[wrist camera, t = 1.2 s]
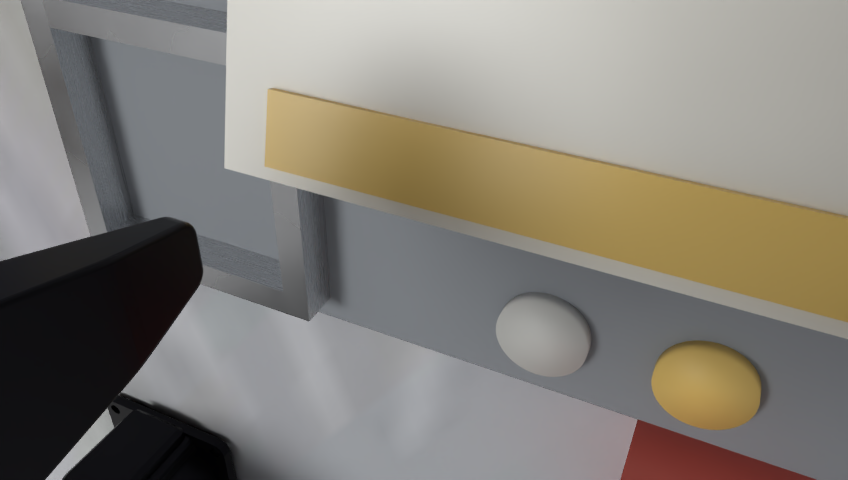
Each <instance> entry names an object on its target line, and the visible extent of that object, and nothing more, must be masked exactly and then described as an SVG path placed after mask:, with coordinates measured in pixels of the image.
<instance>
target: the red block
mask: <svg viewBox="0 0 848 480" xmlns="http://www.w3.org/2000/svg"><path fill="white" fill-rule="evenodd" d="M621 480H816V479H813V478H810V477H807V476H804V475H801V474H799V473H796V472H793V471H790V470H787V469H784V468H781V467H778V466H775V465H772V464H769V463H766V462H763V461H760V460H757V459H754V458H751V457H748V456H745V455H742V454H739V453H736V452H733V451H730V450H727V449H724V448H721V447H718V446H715V445H713V444H710V443H707V442H704V441H701V440H698V439H695V438H692V437H689V436H686V435H683V434H680V433H677V432H674V431H671V430H668V429H665V428H662V427H659V426H656V425H653V424H650V423H647V422H644V421H641V420H638V421H637V424H636V428H635V431H634V435H633V438H632V442H631V445H630V449H629V452H628V456H627V459H626V463H625V466H624V470H623V473H622V476H621Z"/></svg>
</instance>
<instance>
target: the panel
mask: <svg viewBox="0 0 848 480" xmlns="http://www.w3.org/2000/svg"><path fill="white" fill-rule="evenodd" d="M163 1H169V2H174V3H180V4H185V5H190V6H196V7H201V8H206V9H212V10H217V11H222V12H227V0H163ZM91 40H92V44H93V48H94V52H95V56H96V60H97V64H98V68H99V72H100V76H101V80H102V84H103V88H104V92H105V96H106V100H107V104H108V108H109V112H110V116H111V120H112V124H113V128H114V132H115V136H116V140H117V144H118V148H119V152H120V156H121V161H122V165H123V169H124V173H125V177H126V181H127V185H128V189H129V193H130V197H131V201H132V205H133V209H134V213H135V215H139V216H142V217H145V218H148V219H151V220H153V219H157V218H161V217H172V218H176V219H179V220H182V221H185V222H188V223H190V224H191V225H193V227H194V228H195V230H196V233H197V234H199V235H202V236H205V237H208V238H211V239H214V240H218V241H221V242H224V243H227V244H230V245H233V246H237V247H240V248H243V249H246V250H249V251H252V252H256V253H259V254H262V255H265V256H268V257H271V258H275V259H278V260H279V254H278V245H277V237H276V228H275V220H274V212H273V203H272V195H271V186H270V181H269V180H265V179H262V178H258V177H255V176H251V175H247V174H244V173H240V172H236V171H233V170H229V169H225V168H224V157H225V101H226V66H225V65H221V64H216V63H211V62H207V61H202V60H197V59H193V58H188V57H184V56H179V55H174V54H170V53H165V52H160V51H156V50H151V49H147V48H142V47H137V46H133V45H128V44H124V43H119V42H114V41H110V40H105V39H100V38H96V37H91ZM324 204H325V218H326V233H327V247H328V261H329V276H330V290H331V298H330V299H329V300H328V301H327V302H326V303H325V304H324V305H323V307H322V308H321V309H320V310H319V311H318V312H321V313H324V314H327V315H330V316H333V317H336V318H339V319H342V320H345V321H348V322H351V323H354V324H357V325H360V326H363V327H366V328H368V329H371V330H374V331H377V332H380V333H383V334H386V335H389V336H392V337H395V338H398V339H401V340H404V341H407V342H410V343H413V344H416V345H419V346H422V347H425V348H428V349H431V350H434V351H437V352H440V353H443V354H446V355H449V356H452V357H454V358H457V359H460V360H463V361H466V362H469V363H472V364H475V365H478V366H481V367H484V368H487V369H490V370H493V371H496V372H499V373H502V374H505V375H508V376H511V377H514V378H517V379H520V380H523V381H526V382H529V383H532V384H535V385H538V386H541V387H543V388H546V389H549V390H552V391H555V392H558V393H561V394H564V395H567V396H570V397H573V398H576V399H579V400H582V401H585V402H588V403H591V404H594V405H597V406H600V407H603V408H606V409H609V410H612V411H615V412H618V413H621V414H624V415H627V416H629V417H632V418H635V419H638V420H641V421H644V422H647V423H650V424H653V425H656V426H659V427H662V428H665V429H668V430H671V431H674V432H677V433H680V434H683V435H686V436H689V437H692V438H695V439H698V440H701V441H704V442H707V443H710V444H713V445H715V446H718V447H721V448H724V449H727V450H730V451H733V452H736V453H739V454H742V455H745V456H748V457H751V458H754V459H757V460H760V461H763V462H766V463H769V464H772V465H775V466H778V467H781V468H784V469H787V470H790V471H793V472H796V473H799V474H801V475H804V476H807V477H810V478H813V479H816V480H848V339H845V338H842V337H838V336H834V335H831V334H827V333H823V332H820V331H816V330H812V329H809V328H805V327H801V326H798V325H794V324H790V323H787V322H783V321H780V320H776V319H772V318H769V317H765V316H761V315H758V314H754V313H750V312H747V311H743V310H739V309H736V308H732V307H728V306H725V305H721V304H718V303H714V302H710V301H707V300H703V299H699V298H696V297H692V296H688V295H685V294H681V293H677V292H674V291H670V290H667V289H663V288H659V287H656V286H652V285H648V284H645V283H641V282H637V281H634V280H630V279H626V278H623V277H619V276H615V275H612V274H608V273H605V272H601V271H597V270H594V269H590V268H586V267H583V266H579V265H575V264H572V263H568V262H564V261H561V260H557V259H553V258H550V257H546V256H543V255H539V254H535V253H532V252H528V251H524V250H521V249H517V248H513V247H510V246H506V245H502V244H499V243H495V242H492V241H488V240H484V239H481V238H477V237H473V236H470V235H466V234H462V233H459V232H455V231H451V230H448V229H444V228H440V227H437V226H433V225H430V224H426V223H422V222H419V221H415V220H411V219H408V218H404V217H400V216H397V215H393V214H389V213H386V212H382V211H378V210H375V209H371V208H368V207H364V206H360V205H357V204H353V203H349V202H346V201H342V200H338V199H335V198H331V197H327V196H324Z"/></svg>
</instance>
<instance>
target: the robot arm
mask: <svg viewBox="0 0 848 480" xmlns="http://www.w3.org/2000/svg"><path fill="white" fill-rule="evenodd" d="M202 277H203V264H202V259H201V254H200V248H199V243H198V238H197V233H196V230H195V228H194V227H193V225H191V224H190V223H188V222H185V221H182V220H179V219H176V218H172V217H161V218H157V219H153V220H150V221H146V222H142V223H139V224H135V225H131V226H128V227H124V228H120V229H117V230H113V231H109V232H106V233H102V234H98V235H95V236H91V237H88V238H84V239H80V240H77V241H73V242H69V243H66V244H62V245H58V246H55V247H51V248H47V249H44V250H40V251H36V252H33V253H29V254H25V255H22V256H18V257H15V258H11V259H7V260H4V261H0V480H45V479H46V478H47V477H48V476H49V475H50V474H51V472H52V471H53V470H54V469H55V468H56V467H57V465H58V464H59V463H60V462H61V461H62V460H63V459H64V457H65V456H66V455H67V454H68V453H69V452H70V450H71V449H72V448H73V447H74V446H75V445H76V443H77V442H78V441H79V440H80V439H81V438H82V436H83V435H84V434H85V433H86V432H87V431H88V429H89V428H90V427H91V426H92V425H93V424H94V423H95V421H96V420H97V419H98V418H99V417H100V416H101V414H102V413H103V412H104V411H105V410H106V409H107V407H108V410H109V413H110V416H111V419H112V422H113V425H114V429H113V430H112V431H110V432H109V433H108V434H107V435H106V436H105V437H104V438H103V439H102V440H101V441H100V442H99V443H98V444H97V445H96V446H95V447H94V448H93V449H92V450H91V451H90V452H89V453H88V454H86V455H85V456H84V457H83V458H82V459H81V460H80V461H79V462H78V463H77V464H76V465H75V466H74V467H73V468H72V469H71V470H70V471H69V472H68V473H67V474H66V475H65V476H64V477H63V479H62V480H236V477H235V472H234V467H233V462H232V457H231V452H230V449H229V447H228V445H227V444H226V443H225V442H224V441H223V440H221V439H219V438H217V437H215V436H212V435H210V434H208V433H205V432H203V431H201V430H198V429H196V428H194V427H191V426H189V425H187V424H184V423H182V422H180V421H177V420H175V419H173V418H170V417H168V416H166V415H163V414H161V413H159V412H156V411H154V410H152V409H149V408H147V407H145V406H142V405H140V404H138V403H135V402H133V401H131V400H128V399H126V398H124V397H121V396H118V395H119V393H120V392H121V391H122V390H123V389H124V388H125V387H126V385H127V384H128V383H129V382H130V381H131V380H132V378H133V377H134V376H135V375H136V373H137V372H138V371H139V370H140V369H141V367H142V366H143V365H144V363H145V362H146V361H147V359H148V358H149V357H150V355H151V354H152V352H153V351H154V350H155V348H156V347H157V345H158V344H159V342H160V341H161V340H162V338H163V337H164V335H165V334H166V333H167V331H168V330H169V328H170V327H171V325H172V324H173V323H174V321H175V320H176V318H177V317H178V315H179V314H180V313H181V311H182V310H183V308H184V307H185V305H186V304H187V303H188V301H189V300H190V298H191V297H192V296H193V294H194V293H195V291H196V290H197V288H198V287H199V285H200V283H201V281H202Z"/></svg>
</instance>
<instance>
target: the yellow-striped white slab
mask: <svg viewBox="0 0 848 480" xmlns="http://www.w3.org/2000/svg"><path fill="white" fill-rule="evenodd" d="M224 168H225V169H229V170H233V171H236V172H240V173H244V174H247V175H251V176H255V177H258V178H262V179H265V180H269V181H273V182H276V183H280V184H284V185H287V186H291V187H295V188H298V189H302V190H306V191H309V192H313V193H316V194H320V195H324V196H327V197H331V198H335V199H338V200H342V201H346V202H349V203H353V204H357V205H360V206H364V207H368V208H371V209H375V210H378V211H382V212H386V213H389V214H393V215H397V216H400V217H404V218H408V219H411V220H415V221H419V222H422V223H426V224H430V225H433V226H437V227H440V228H444V229H448V230H451V231H455V232H459V233H462V234H466V235H470V236H473V237H477V238H481V239H484V240H488V241H492V242H495V243H499V244H502V245H506V246H510V247H513V248H517V249H521V250H524V251H528V252H532V253H535V254H539V255H543V256H546V257H550V258H553V259H557V260H561V261H564V262H568V263H572V264H575V265H579V266H583V267H586V268H590V269H594V270H597V271H601V272H605V273H608V274H612V275H615V276H619V277H623V278H626V279H630V280H634V281H637V282H641V283H645V284H648V285H652V286H656V287H659V288H663V289H667V290H670V291H674V292H677V293H681V294H685V295H688V296H692V297H696V298H699V299H703V300H707V301H710V302H714V303H718V304H721V305H725V306H728V307H732V308H736V309H739V310H743V311H747V312H750V313H754V314H758V315H761V316H765V317H769V318H772V319H776V320H780V321H783V322H787V323H790V324H794V325H798V326H801V327H805V328H809V329H812V330H816V331H820V332H823V333H827V334H831V335H834V336H838V337H842V338H845V339H848V0H227V46H226V101H225V157H224Z"/></svg>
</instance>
